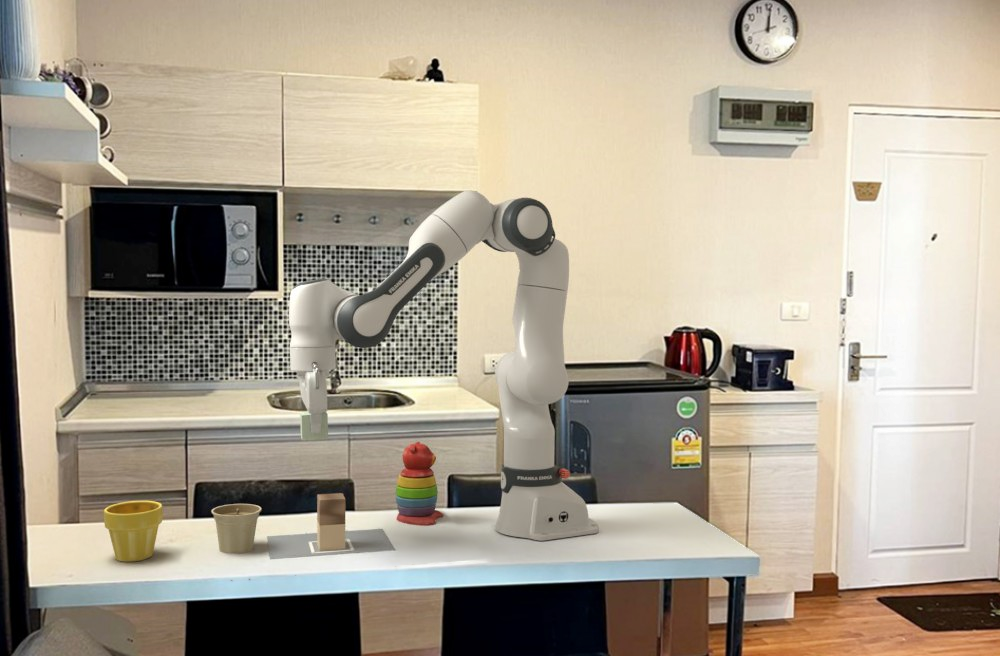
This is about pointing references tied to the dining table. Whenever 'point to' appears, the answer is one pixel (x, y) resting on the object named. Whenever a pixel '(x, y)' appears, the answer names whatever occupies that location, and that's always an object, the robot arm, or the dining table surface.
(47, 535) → the dining table surface
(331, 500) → the walnut block
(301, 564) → the dining table surface
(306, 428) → the sage block
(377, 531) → the building board
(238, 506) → the flower pot
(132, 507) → the plant pot
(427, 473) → the stacking bear
